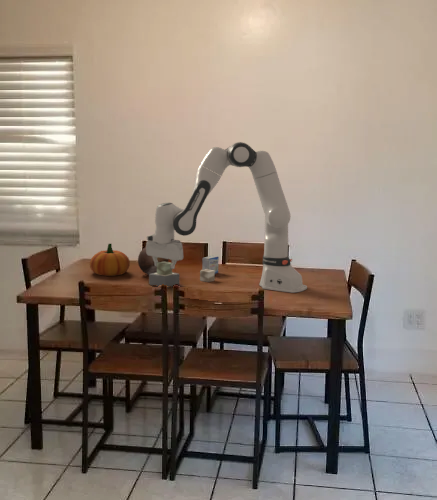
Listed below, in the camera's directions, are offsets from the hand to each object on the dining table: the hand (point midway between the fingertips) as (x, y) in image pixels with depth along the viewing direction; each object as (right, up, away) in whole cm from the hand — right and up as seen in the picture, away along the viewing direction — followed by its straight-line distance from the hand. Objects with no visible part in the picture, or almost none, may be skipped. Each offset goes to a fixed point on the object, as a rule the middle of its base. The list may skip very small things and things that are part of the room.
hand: (164, 267), depth 284 cm
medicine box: (+21, -4, +27) cm, 34 cm away
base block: (0, -8, +1) cm, 8 cm away
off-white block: (+20, -7, +12) cm, 24 cm away
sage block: (0, -3, +1) cm, 3 cm away
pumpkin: (-29, -4, +21) cm, 36 cm away
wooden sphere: (-7, -5, +20) cm, 22 cm away
